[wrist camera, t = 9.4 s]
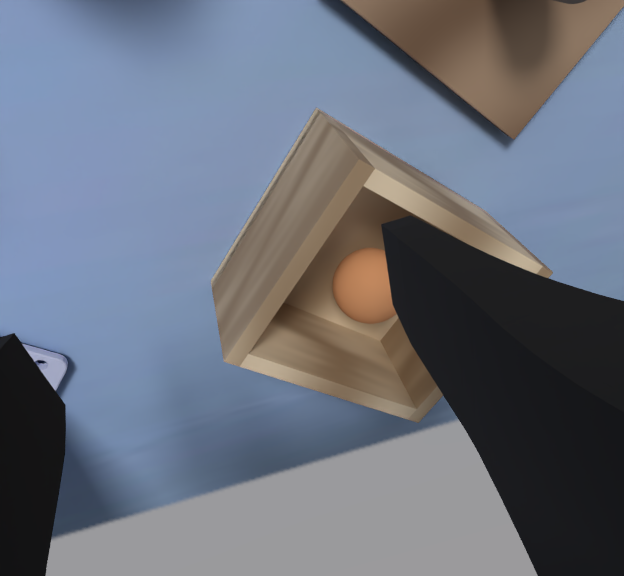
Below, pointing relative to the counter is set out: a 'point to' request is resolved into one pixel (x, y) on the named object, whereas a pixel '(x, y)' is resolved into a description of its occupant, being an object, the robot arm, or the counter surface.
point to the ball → (364, 286)
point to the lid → (493, 46)
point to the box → (324, 261)
